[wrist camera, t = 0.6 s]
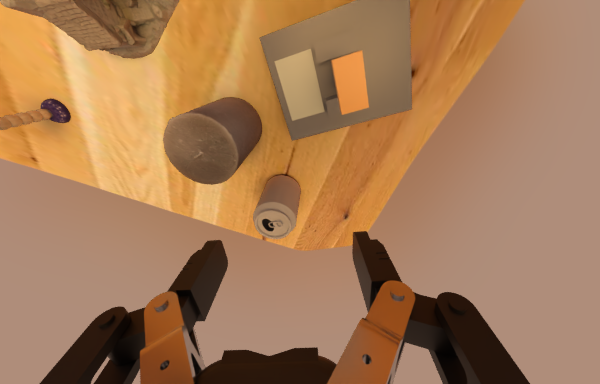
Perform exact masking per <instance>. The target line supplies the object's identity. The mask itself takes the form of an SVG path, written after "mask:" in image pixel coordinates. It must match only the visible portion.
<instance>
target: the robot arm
mask: <svg viewBox="0 0 600 384" xmlns="http://www.w3.org/2000/svg"><path fill="white" fill-rule="evenodd" d="M353 261H354V265H355V268H356V272H357V275H358V279H359V282H360V286H361V289H362V293H363V296H364V300H365V303H366V307H367V310H368V314H367V316H366V318H365V319H364V318H362V319H361V320H360V322H359V323H358V325H357V327H356V329H355V331H354V333H353V335H352V337H351V339H350V341H349V343H348V344H347V346H346V349H345V350H344V352H343V354H342V356H341V358H340V360H339V362H338V364H335V363H334V362H332V361H331V360H329V359H327V358H325V357H322V356H318V349H317V348H294V349H291V350H288V351H284V352H281V353H278V354H275V355H272V356H266V355H263V354H259V353H256V352H252V351H249V350H230V351H229V350H228V351H224V353H223V357H222V360H219V361H217V362H214V363H213V364H211V365H209V366H208V367H205V365H204V362H203V359H202V355H201V352H200V348H199V344H198V340H197V337H196V333H195V330H194V328H193V327H194V325H195V322H196V321H205V319H206V316H207V314H208V312H209V310H210V307H211V305H212V303H213V300H214V298H215V296H216V293H217V291H218V289H219V286H220V284H221V282H222V279H223V277H224V275H225V272H226V270H227V266H228V260H227V256H226V253H225V250H224V247H223V244H222V241H221V240H214V241H207V242H206V243H205V245H204V247H203V248H202V249H201V250H198V251H197V252H196V253H194V254H193V255H192V256H191V257H190V259H189V260H188V262H187V264H186V265H185V266H184V268H183V270H182V271H181V272H180V274H179V275H178V277H177V278H176V279H175V281H174V283H173V284H172V286H171V287H170V288H169V290H168V291H167V292H165V293H162V294H160V295H158V296H156V297H155V298H154V299H152V300H151V301H150V302H149V303H148V305H147V306H146V307H145V308H142V309H139V310H136V311H133V312H130V313H128V312H127V311H126V309H125V308H124V307H115V308H111V309H110V310H107V311H105V312H104V313H102V314H101V315H99V316H98V317H97V318H96V319H95V320H94V321H93V322H92V323H91V324H90V325H89V326H88V328H87V329H86V330H85V331H84V332H83V333H82V335H81V336H80V337H79V338H78V339H77V340H76V342H75V343H74V344H73V345H72V347H70V349H69V350H68V351H67V352H66V353H65V355H64V356H63V357H62V358H61V359H60V360H59V362H58V363H57V364H56V365H55V366H54V367H53V369H52V370H51V371H50V372H49V373H48V374H47V376H46V377H45V378H44V379H43V380H42V382H41V383H40V384H91V381H92V378H93V377H94V375H95V373H96V372H97V371H98V369H99V368H100V366H101V365H102V363H103V362H104V361H105V359H106V357H107V356H108V357H109V358H110V360H109V362H108V363H107V365H106V366H105V368H104V369H103V371H102V372H101V374H100V375H99V377H98V378H97V380H96V381H95V383H94V384H132V382H133V381H134V379H135V377H136V375H137V373H138V371H139V369H140V379H141V381H140V382H141V384H393V381H394V377H395V374H396V371H397V368H398V365H399V361H400V358H401V355H402V351H403V349H404V345H405V342H406V343H410V344H413V345H416V346H419V347H423V348H426V349H429V352H430V354H431V356H432V358H433V361H434V363H435V366H436V368H437V371H438V373H439V375H440V378H441V380H442V382H443V384H530V383H529V382H528V380H527V379H526V378H525V376H524V375H523V373H522V372H521V370H520V369H519V368H518V366H517V365H516V364H515V362H514V361H513V359H512V358H511V356H510V355H509V354H508V352H507V351H506V349H505V348H504V347H503V345H502V344H501V343H500V341H499V340H498V338H497V337H496V335H495V334H494V333H493V331H492V330H491V328H490V327H489V326H488V324H487V323H486V321H485V320H484V319H483V317H482V316H481V315H480V313H479V312H478V310H477V309H476V307H475V306H474V305H473V304H472V303H471V302H470V301H469V300H467V299H466V298H465V297H462V296H461V295H458V294H455V293H451V292H444V293H441V294H440V295H439V296H438V297H437V299H435V298H431V297H427V296H423V295H419V294H416V293H414V292H413V291H412V289H410V287H408V286H407V285H406V284H404V283H402V281H401V279H400V277H399V275H398V273H397V271H396V269H395V267H394V265H393V263H392V261H391V260H390V257H389V255H388V254H387V251H386V250H385V247H384V246H383V245H382V244H381V243H380V242H379V241H378V240H370V238H369V236H368V233H367V232H366V231H362V232H353Z"/></svg>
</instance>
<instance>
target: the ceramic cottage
mask: <svg viewBox="0 0 600 384" xmlns="http://www.w3.org/2000/svg"><path fill="white" fill-rule="evenodd" d="M0 2H1V4H3V5H4V6H5V7H8V8H11V9H14V10H18V11H22V12H25V13H28V14H32V15H36V16H39V17H43V18H45V19H47V20H48V21H49V22H51V23H53V24H54V25H55V26H57V27H58V28H60V29H61V30H63V31H64V32H66V33H67V35H69V36H71V37H72V38H74V39H75V40H76V41H77V42H78V43H80V44H82V45H84V47H85V48H86V49H87V50H88V51H92V50H97V49H99V50H102V51H103V50H106V51H109V53H111V54H114V55H119V56H122V57H123V58H133V59H134V58H140V57H144V56H147V55H148V54H151V53H152V52H153V51H154V49H155V48H156V45H157V43H158V41H159V39H160V37H161V36H162V33H163V31H164V28H166V25H167V22H168V21H169V19H170V17H171V16H172V14H173V12H174V10H175V8H176V6H177V4H178V2H179V0H0Z"/></svg>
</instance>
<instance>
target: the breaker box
mask: <svg viewBox="0 0 600 384" xmlns="http://www.w3.org/2000/svg"><path fill="white" fill-rule="evenodd" d="M260 41H261V44H262V47H263V50H264V53H265V57H266V60H267V63H268V66H269V69H270V72H271V76H272V79H273V82H274V85H275V88H276V91H277V95H278V98H279V101H280V104H281V107H282V110H283V114H284V117H285V120H286V123H287V126H288V129H289V133H290V136H291V139H292V141H293V140H297V139H301V138H304V137H308V136H312V135H316V134H320V133H323V132H327V131H331V130H335V129H339V128H343V127H346V126H350V125H354V124H358V123H362V122H365V121H369V120H373V119H377V118H381V117H384V116H388V115H392V114H396V113H400V112H404V111H407V110H411V109H412V85H411V33H410V0H356V1H353V2H350V3H348V4H345V5H343V6H340V7H337V8H335V9H332V10H330V11H327V12H325V13H322V14H319V15H317V16H314V17H312V18H309V19H306V20H304V21H301V22H299V23H296V24H294V25H291V26H288V27H286V28H283V29H281V30H278V31H275V32H273V33H270V34H268V35H265V36H262V37H260ZM361 50H362V52H363V61H364V69H365V78H366V86H367V95H368V103H369V108H366V109H362V110H358V111H355V112H351V113H347V114H344V115H342V114H341V111H340V108H339V102H338V97H337V92H336V86H335V81H334V75H333V70H332V64H331V60H333V59H336V58H339V57H342V56H345V55H348V54H351V53H354V52H357V51H361Z"/></svg>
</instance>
